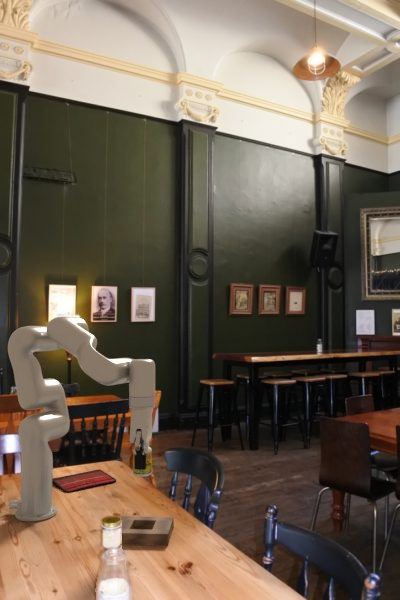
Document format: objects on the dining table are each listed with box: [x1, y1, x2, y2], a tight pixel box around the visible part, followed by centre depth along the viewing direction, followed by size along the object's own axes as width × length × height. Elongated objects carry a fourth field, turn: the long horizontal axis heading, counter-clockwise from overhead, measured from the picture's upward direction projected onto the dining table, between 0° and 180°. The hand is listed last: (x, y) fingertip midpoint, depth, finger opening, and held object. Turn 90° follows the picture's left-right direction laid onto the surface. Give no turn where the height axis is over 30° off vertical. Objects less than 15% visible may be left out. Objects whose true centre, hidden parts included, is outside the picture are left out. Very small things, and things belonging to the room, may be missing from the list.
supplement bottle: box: [132, 441, 153, 478], centre depth 137 cm, size 5×5×10 cm
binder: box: [52, 469, 117, 494], centre depth 185 cm, size 16×2×21 cm
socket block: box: [119, 515, 175, 546], centre depth 136 cm, size 16×12×3 cm
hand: (142, 465), depth 137 cm, fingers closed on supplement bottle, 5 cm apart
